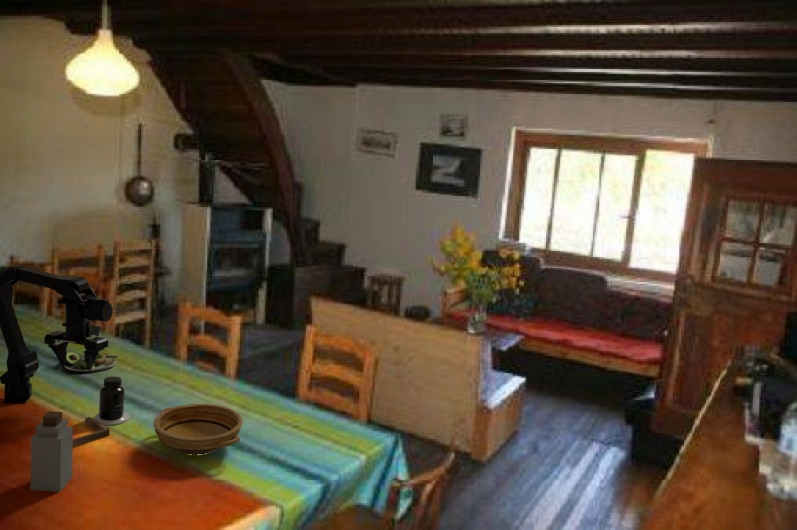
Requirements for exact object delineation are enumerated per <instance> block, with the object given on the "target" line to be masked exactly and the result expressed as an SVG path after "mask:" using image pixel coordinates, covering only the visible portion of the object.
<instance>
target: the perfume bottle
mask: <svg viewBox="0 0 797 530" xmlns="http://www.w3.org/2000/svg"><path fill="white" fill-rule="evenodd" d="M63 414H64V413H63V412H62V411H51V410H48V411H47V412H46V413H45V414H44V415H43V416H42V421H41V422H40V423H39V424H37V425H36V426H35V430H36V432H35V433H34V434H33V435H32V436H30V490H31V491H42V492H44V491H45V492H58V493H60V492H62V491H63V489H64V488H65V487H66V485H67V484H68V483H69V482H70V480H71V479H72V478H73V448H74V447H73V439H74V438H73V435H74V434H73V433H74V431H73V430H74V427H73V426H68V424H69V421H70V419H68V418H63ZM72 447H73V448H72Z"/></svg>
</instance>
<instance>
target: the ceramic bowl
mask: <svg viewBox="0 0 797 530" xmlns="http://www.w3.org/2000/svg"><path fill="white" fill-rule="evenodd" d="M243 423H244V419H243V416H241V414H240V413H239V412H238V411H236V410H234V409H233V408H230V407H226V406H223V405H218V404H210V403H191V404H184V405H178V406H175V407H172V406H171V407H166V408H164V409H162V410H161V411H160V412H159V414H158V415H156V417H155V418H154V420H153V427H154V430H155V431H154V432H155V433H156V436H157V437H158V438H157V439H158V440H159V441H160V443H162V444H163V445H164V446H166V447H167V448H169V449H172V450H173V451H178V452H180V453H181V452H182V453H181V454H183V453H186V454H192V455H197V454H205V453H209V452H212V451H214V450H215V451H218V450H219V449H222V448H225V447H229V446H231V445H234V444H237V443H238V442H240V440H241V437H240V436H238V435H239V433H240V431H241V429H242V426H243ZM215 451H214V452H215ZM212 453H213V452H212ZM186 454H185V455H186ZM209 454H210V453H209ZM192 455H191V456H192Z"/></svg>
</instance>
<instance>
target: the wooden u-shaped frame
mask: <svg viewBox="0 0 797 530" xmlns="http://www.w3.org/2000/svg"><path fill="white" fill-rule="evenodd" d="M85 423H86V424H87V426H88V425H89V427H90V428H92V429H94V430H95V429H96V431H95V432H91V433H88V434H85V435H82V436H78V437H75V438H73V447H72V449H73V448H76V447H79V446H81V445H84V444H88V443H91V442H95V441H96V440H100V439H103V438H106V437H109V436H110V430H111V429H110V427H109V426H108V425H103V424H101V423H99V422H98V421H96V420H94V418H92V417H90V416H86V417H85V418H84V424H85ZM86 424H85V425H86ZM97 430H98V431H97Z"/></svg>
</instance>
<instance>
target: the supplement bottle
mask: <svg viewBox="0 0 797 530" xmlns="http://www.w3.org/2000/svg"><path fill="white" fill-rule="evenodd" d="M98 400H99V402H98V403H99V404H98V408H99V409H98V413H99V417H100V418H101V419H102V420H107V421H113V420H118V419H120V418H121V417H122V416H123V412H124V407H125V388H124V387H123V386H122V378H121V377H120V376H108V377H104V379H103V386H102V387H101V388H100V390H99V399H98Z"/></svg>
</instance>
